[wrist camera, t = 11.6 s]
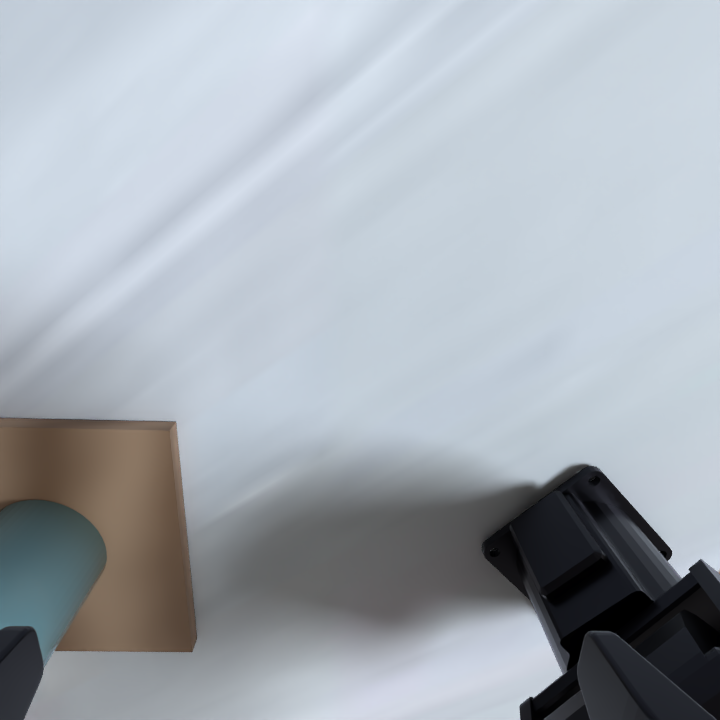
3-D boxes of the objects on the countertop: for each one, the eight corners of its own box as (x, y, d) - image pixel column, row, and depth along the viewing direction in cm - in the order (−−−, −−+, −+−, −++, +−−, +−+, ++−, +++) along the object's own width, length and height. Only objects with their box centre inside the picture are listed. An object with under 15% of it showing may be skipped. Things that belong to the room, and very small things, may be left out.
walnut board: (176, 421, 21) (169, 430, 20) (197, 637, 25) (192, 652, 24) (-116, 415, 21) (-134, 424, 20) (-48, 635, 25) (-61, 649, 24)
